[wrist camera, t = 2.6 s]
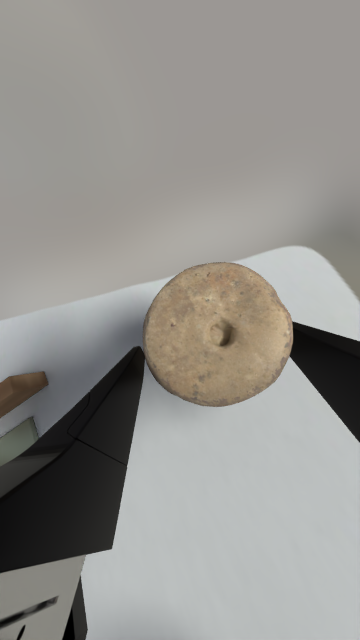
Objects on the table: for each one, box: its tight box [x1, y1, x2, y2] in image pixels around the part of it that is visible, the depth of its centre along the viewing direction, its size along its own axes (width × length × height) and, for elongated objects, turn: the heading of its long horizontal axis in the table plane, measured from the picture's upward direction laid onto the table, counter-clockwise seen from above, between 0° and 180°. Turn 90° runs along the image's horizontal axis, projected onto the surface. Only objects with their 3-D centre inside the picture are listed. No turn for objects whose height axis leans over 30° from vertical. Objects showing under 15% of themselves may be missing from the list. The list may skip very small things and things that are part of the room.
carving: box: [143, 262, 293, 407], centre depth 11 cm, size 6×8×12 cm
